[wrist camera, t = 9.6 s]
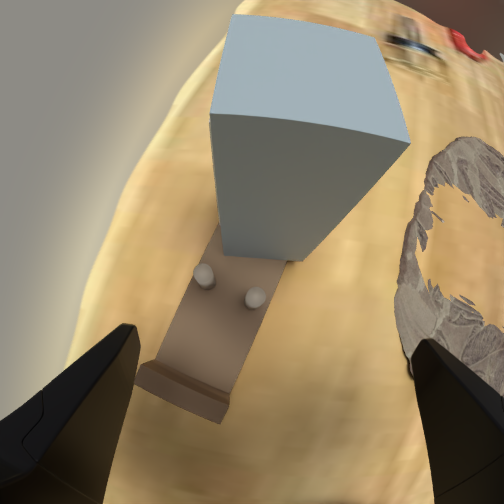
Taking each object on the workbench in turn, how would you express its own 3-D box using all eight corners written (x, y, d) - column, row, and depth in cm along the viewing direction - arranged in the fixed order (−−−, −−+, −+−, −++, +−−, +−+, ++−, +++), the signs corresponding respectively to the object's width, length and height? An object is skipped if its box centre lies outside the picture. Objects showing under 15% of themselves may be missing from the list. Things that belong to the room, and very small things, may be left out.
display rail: (223, 404, 18) (220, 424, 13) (154, 372, 18) (133, 383, 14) (337, 125, 24) (353, 92, 20) (285, 104, 24) (293, 68, 20)
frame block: (302, 261, 19) (410, 143, 6) (220, 255, 19) (201, 113, 6) (302, 191, 20) (374, 37, 8) (227, 184, 20) (226, 14, 7)
